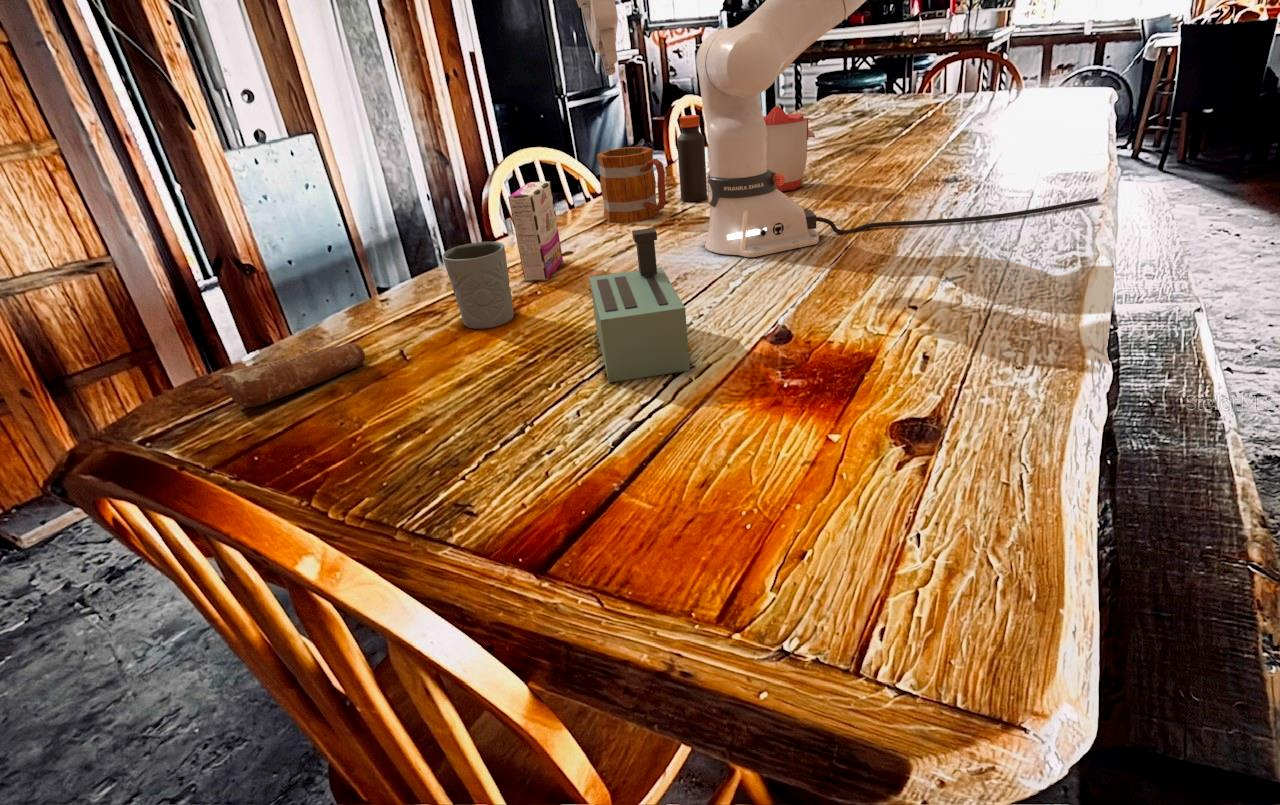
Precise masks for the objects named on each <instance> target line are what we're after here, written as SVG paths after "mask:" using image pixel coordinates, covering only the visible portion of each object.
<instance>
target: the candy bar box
mask: <svg viewBox="0 0 1280 805" xmlns="http://www.w3.org/2000/svg"><path fill="white" fill-rule="evenodd" d="M508 203H509V208H510V212H511V218H512V223H513V229H514V234H515V236H516V243H517V248H518V254H519V257H520V263H521V268H522V273H523V278H524V281H525V282H540V281H541V282H542V281H548V280H549V279H550V278H551V277H552V276H553V274H554V273H555V272H557V270H558V269H559V268H560V267H561V265H563V264H564V258H563V253H562V252H563V251H562V246H561V240H560V234H559V228H558V222H557V217H556V211H555V210H556V209H555V205H554V204H555V203H554V198H553V193H552V186H551V181H532V182H531V181H530V182H527V183H525V184H524V185H523V186H521V187H520V188H519V189H517V190H516V191H515V192H513V193H512V194H510V195H509V196H508Z"/></svg>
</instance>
